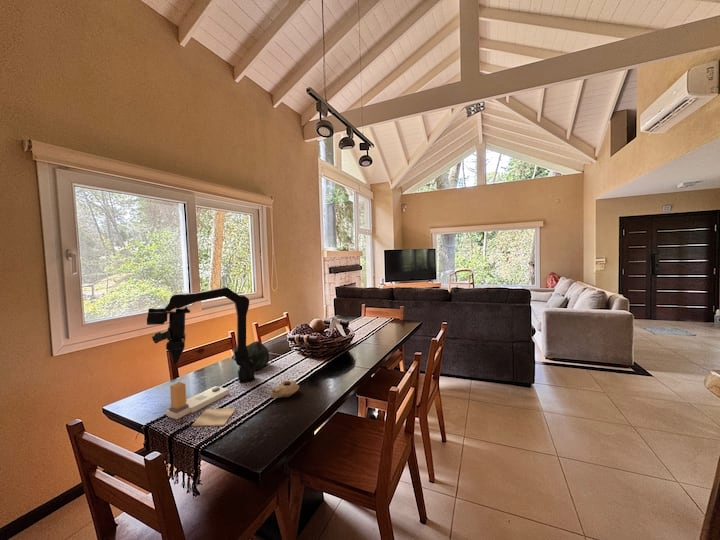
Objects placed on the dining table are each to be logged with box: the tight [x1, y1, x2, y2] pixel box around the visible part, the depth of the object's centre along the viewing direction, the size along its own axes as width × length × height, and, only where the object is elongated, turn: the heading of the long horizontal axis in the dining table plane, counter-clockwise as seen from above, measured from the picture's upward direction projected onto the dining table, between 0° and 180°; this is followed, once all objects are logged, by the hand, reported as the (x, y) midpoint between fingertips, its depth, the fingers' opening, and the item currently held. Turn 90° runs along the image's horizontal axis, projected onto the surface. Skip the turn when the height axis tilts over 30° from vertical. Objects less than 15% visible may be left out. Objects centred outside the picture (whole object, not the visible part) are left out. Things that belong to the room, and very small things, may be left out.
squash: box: [246, 340, 270, 370], centre depth 153 cm, size 14×15×15 cm
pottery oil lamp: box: [269, 380, 300, 399], centre depth 121 cm, size 9×12×7 cm
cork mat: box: [190, 407, 237, 428], centre depth 106 cm, size 11×11×1 cm
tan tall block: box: [168, 381, 189, 413], centre depth 108 cm, size 4×4×11 cm
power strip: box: [165, 385, 230, 420], centre depth 116 cm, size 22×8×3 cm, turn 156°
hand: (175, 360), depth 124 cm, fingers open, 9 cm apart
